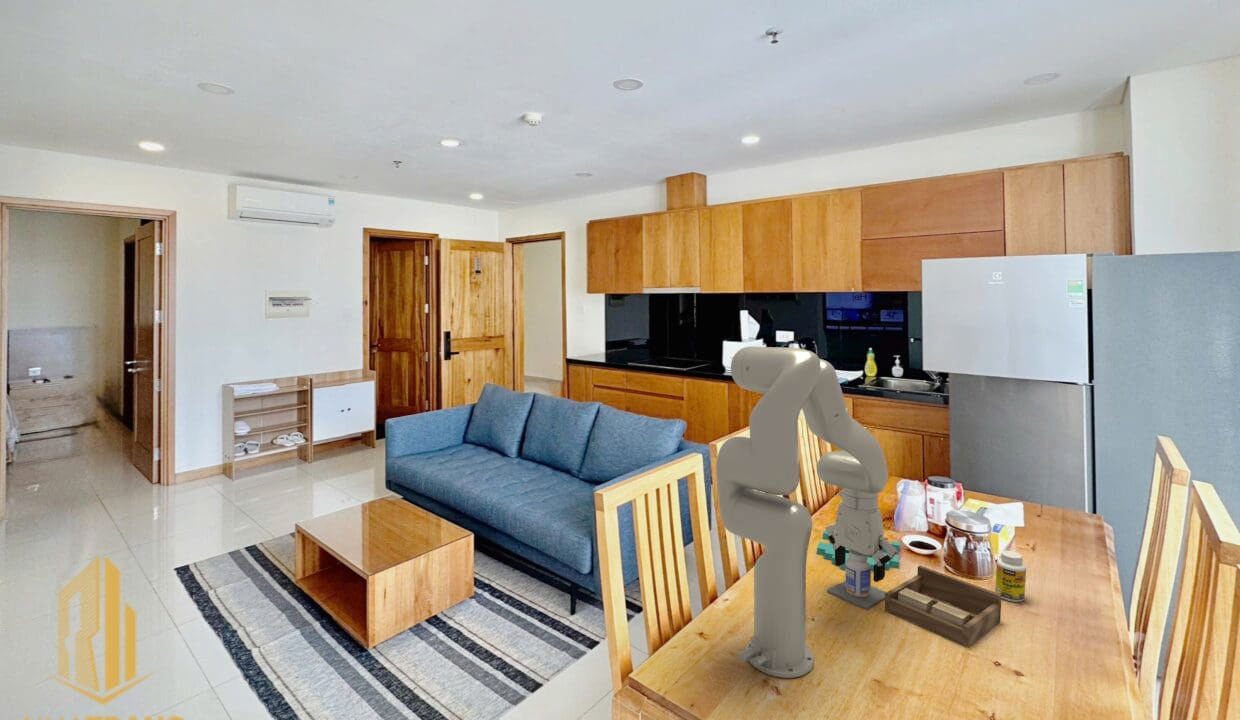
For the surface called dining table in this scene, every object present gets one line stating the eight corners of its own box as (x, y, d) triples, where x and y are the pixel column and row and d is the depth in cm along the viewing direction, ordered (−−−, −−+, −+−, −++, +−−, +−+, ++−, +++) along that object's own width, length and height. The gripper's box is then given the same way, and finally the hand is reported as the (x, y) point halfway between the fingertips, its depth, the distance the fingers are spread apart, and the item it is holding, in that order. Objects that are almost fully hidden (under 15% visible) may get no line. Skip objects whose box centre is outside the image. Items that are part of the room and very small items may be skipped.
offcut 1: (925, 623, 118) (926, 603, 118) (897, 611, 123) (898, 592, 123) (932, 619, 120) (933, 599, 119) (905, 607, 125) (905, 588, 124)
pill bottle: (869, 588, 132) (870, 548, 131) (871, 599, 127) (871, 558, 126) (845, 584, 134) (845, 545, 133) (845, 595, 129) (846, 555, 128)
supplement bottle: (998, 600, 127) (1000, 557, 126) (992, 589, 132) (994, 547, 131) (1027, 605, 124) (1029, 561, 123) (1021, 593, 129) (1023, 551, 128)
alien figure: (823, 537, 164) (813, 565, 146) (824, 530, 164) (813, 557, 146) (899, 550, 155) (897, 581, 137) (900, 542, 154) (898, 573, 137)
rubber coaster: (866, 610, 124) (866, 607, 124) (827, 591, 132) (827, 589, 132) (890, 596, 129) (890, 593, 129) (851, 579, 138) (851, 577, 138)
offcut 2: (962, 639, 112) (962, 618, 112) (931, 626, 117) (932, 606, 117) (968, 634, 114) (969, 613, 114) (938, 621, 119) (939, 601, 118)
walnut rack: (967, 647, 110) (968, 618, 109) (884, 610, 123) (885, 584, 123) (1000, 621, 118) (1001, 594, 118) (919, 589, 132) (919, 565, 131)
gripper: (817, 494, 134) (817, 563, 135) (887, 515, 119) (885, 592, 121) (836, 488, 138) (835, 555, 139) (905, 507, 124) (903, 581, 125)
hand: (858, 572), depth 130 cm, fingers open, 9 cm apart
